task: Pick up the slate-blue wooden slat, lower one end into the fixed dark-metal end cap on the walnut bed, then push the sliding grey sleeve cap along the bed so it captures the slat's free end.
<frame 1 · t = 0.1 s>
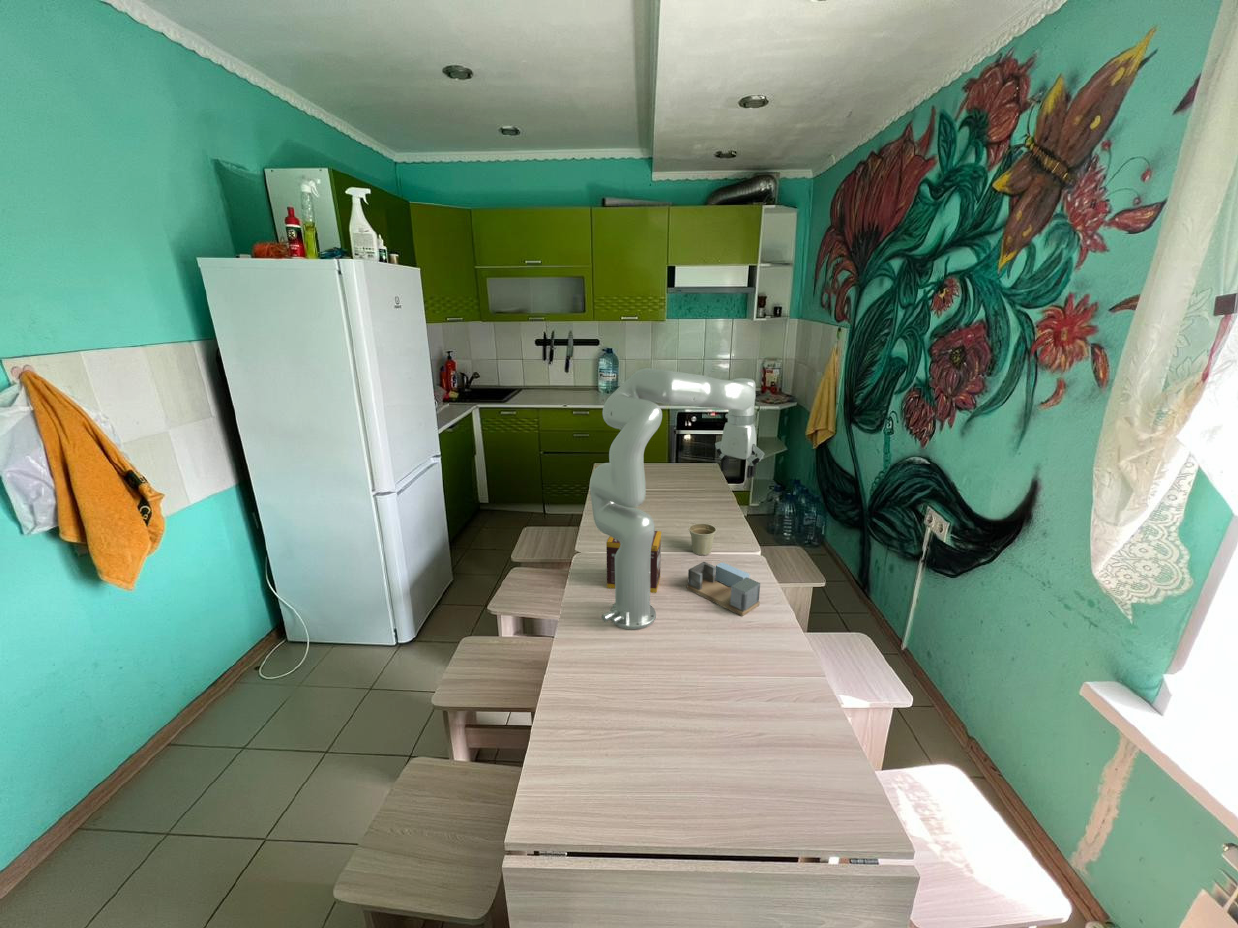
hand: (737, 473, 162), 31 cm above the table, fingers open, 9 cm apart
flower pot: (701, 552, 179), on the table
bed: (722, 596, 152), on the table
slat: (731, 584, 159), on the table
supplement box: (634, 582, 160), on the table
sleeve cap: (745, 593, 145), point 4 cm above the table, slide at 0.0 cm
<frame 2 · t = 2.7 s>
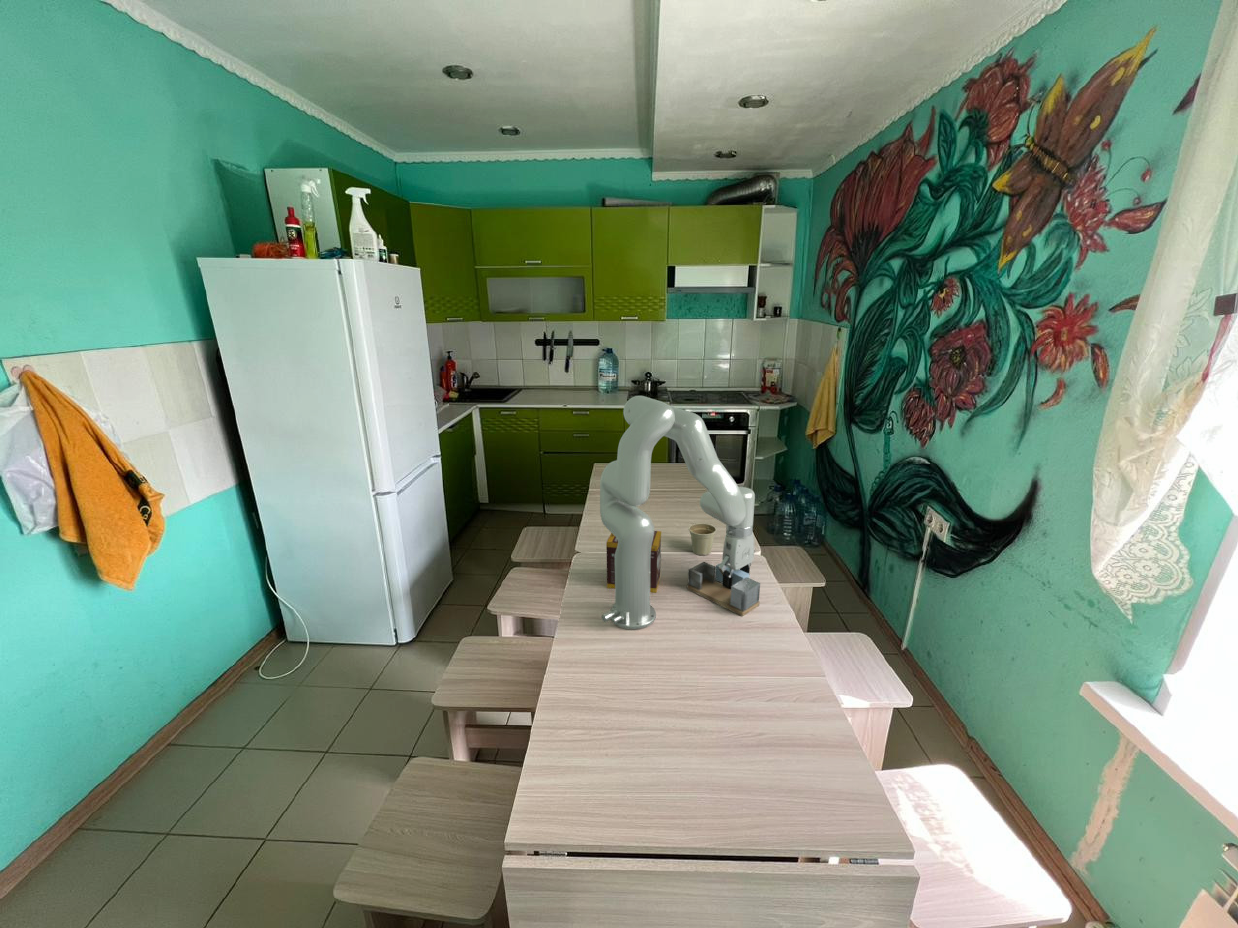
hand: (735, 581, 157), 1 cm above the table, fingers open, 7 cm apart
nothing on the table moved.
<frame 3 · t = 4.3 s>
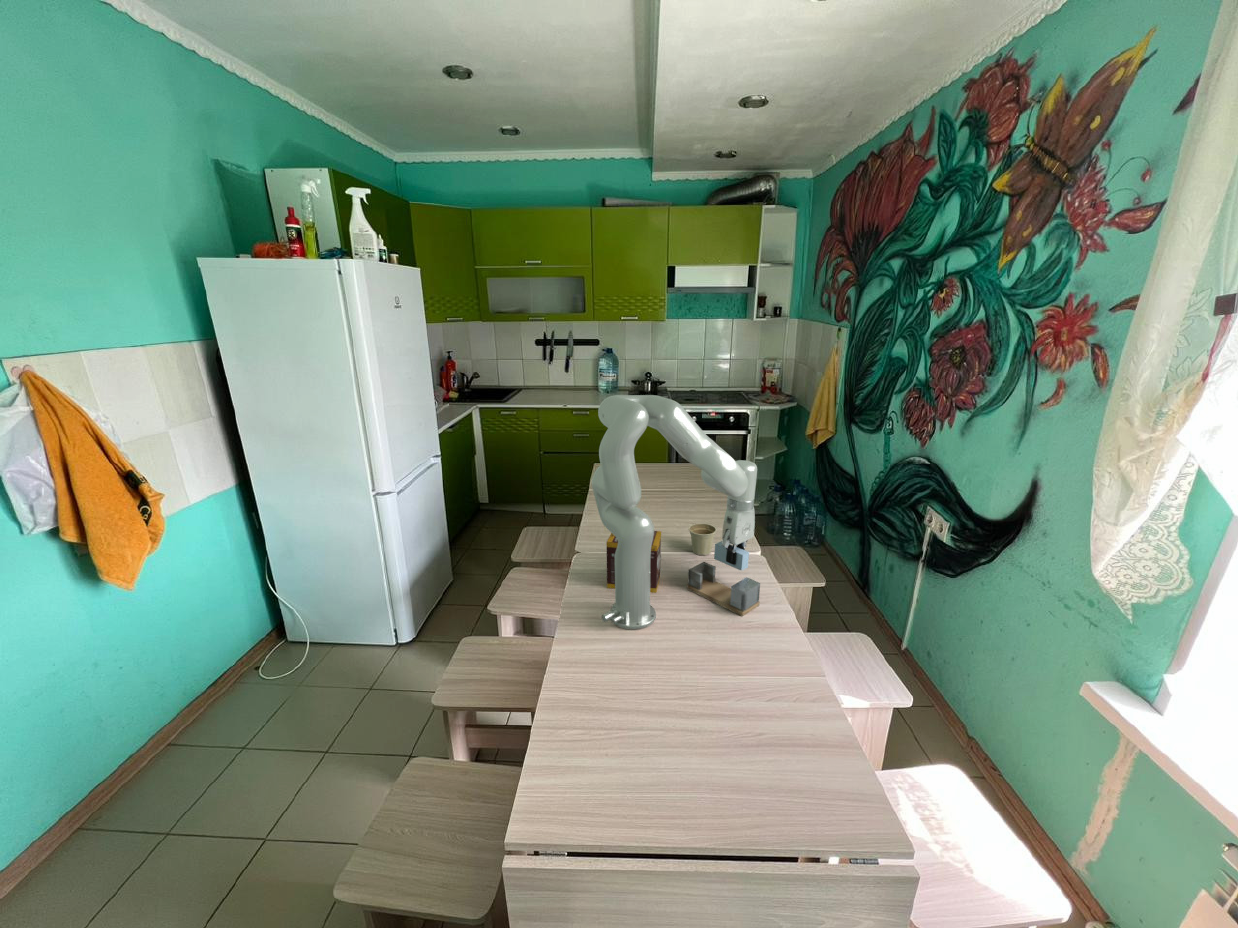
hand: (734, 560, 155), 9 cm above the table, fingers closed on slat, 3 cm apart
slat: (730, 563, 156), point 7 cm above the table, touching gripper
everything else where it was.
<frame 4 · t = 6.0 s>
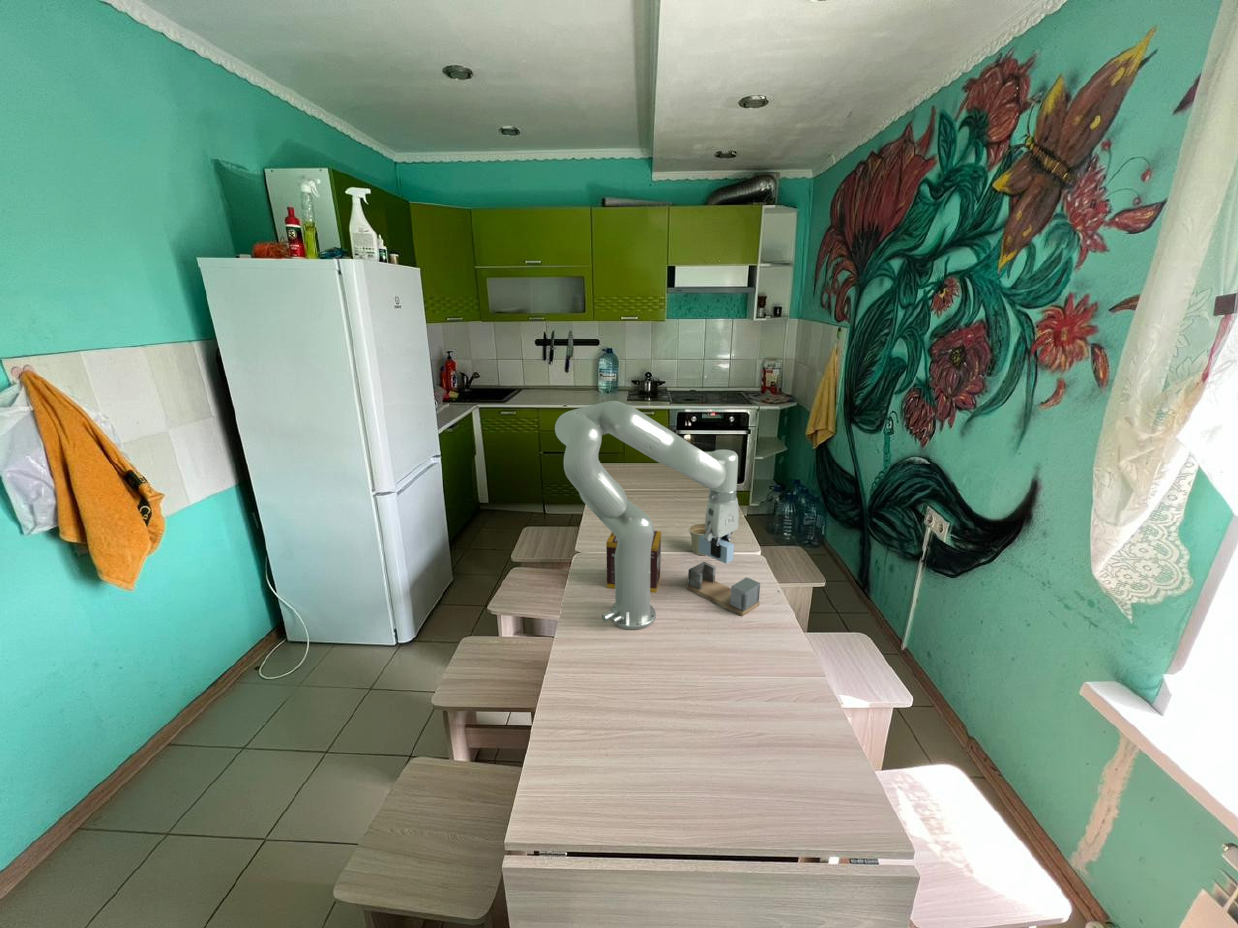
hand: (719, 553, 149), 13 cm above the table, fingers closed on slat, 3 cm apart
slat: (715, 556, 151), point 12 cm above the table, touching gripper
everything else where it was.
when the fingers open (3 cm above the table, at t = 7.9 s): slat stays where it is, resting on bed.
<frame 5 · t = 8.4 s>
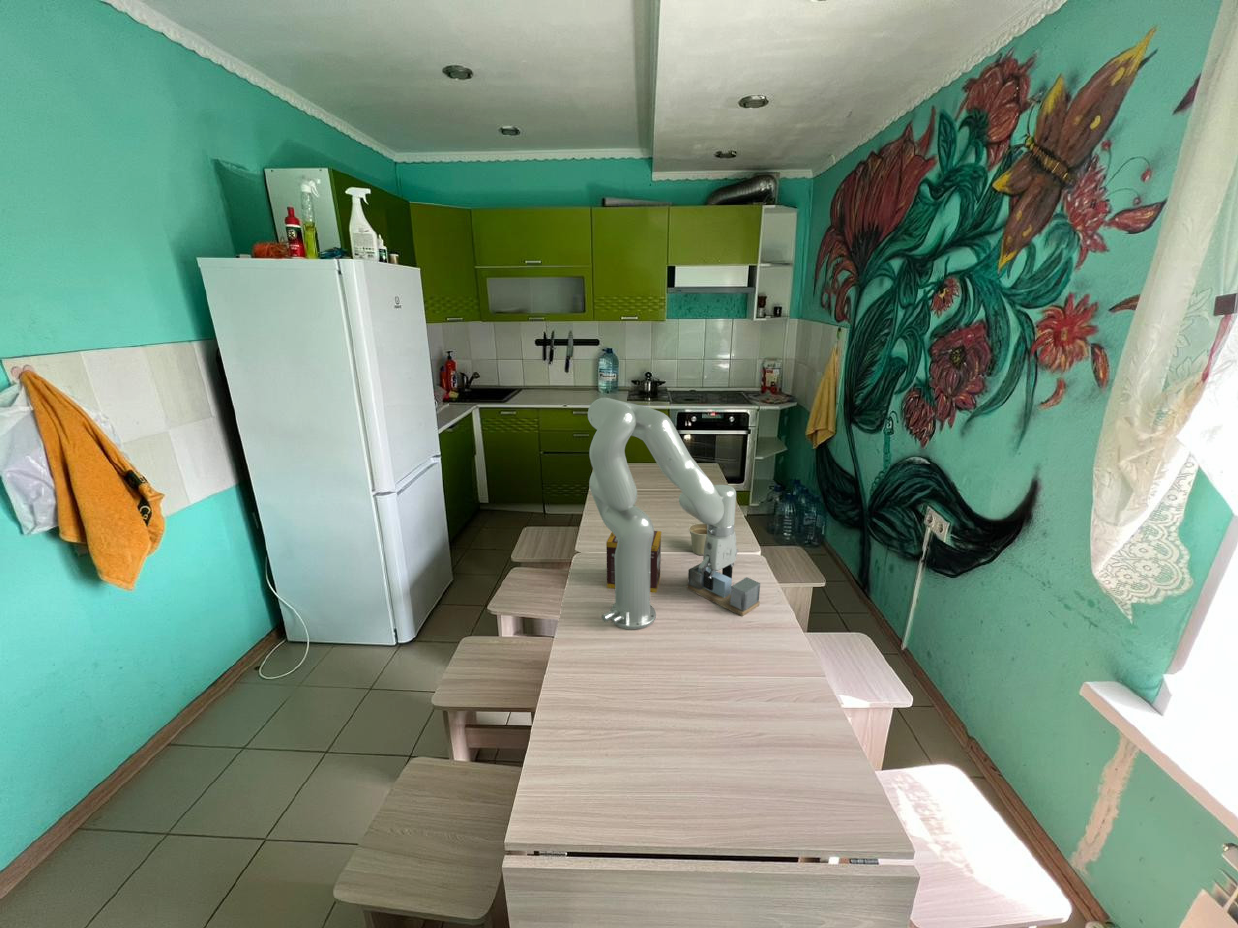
hand: (717, 582, 152), 4 cm above the table, fingers open, 8 cm apart
slat: (713, 589, 154), point 1 cm above the table, touching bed
everything else where it was.
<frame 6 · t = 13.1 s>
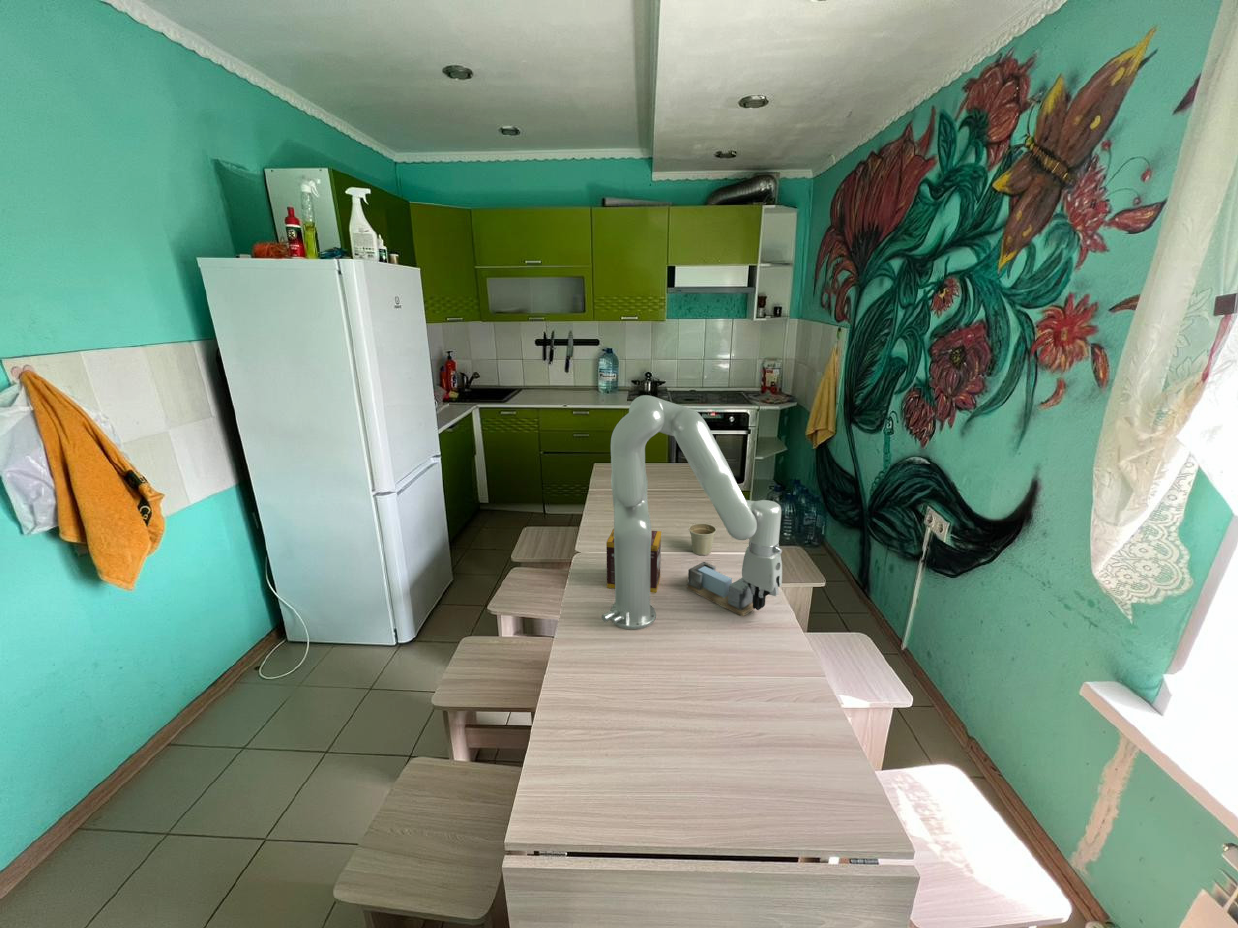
hand: (758, 607, 142), 2 cm above the table, fingers closed
sleeve cap: (743, 592, 146), point 4 cm above the table, slide at 0.7 cm, touching gripper
everything else where it was.
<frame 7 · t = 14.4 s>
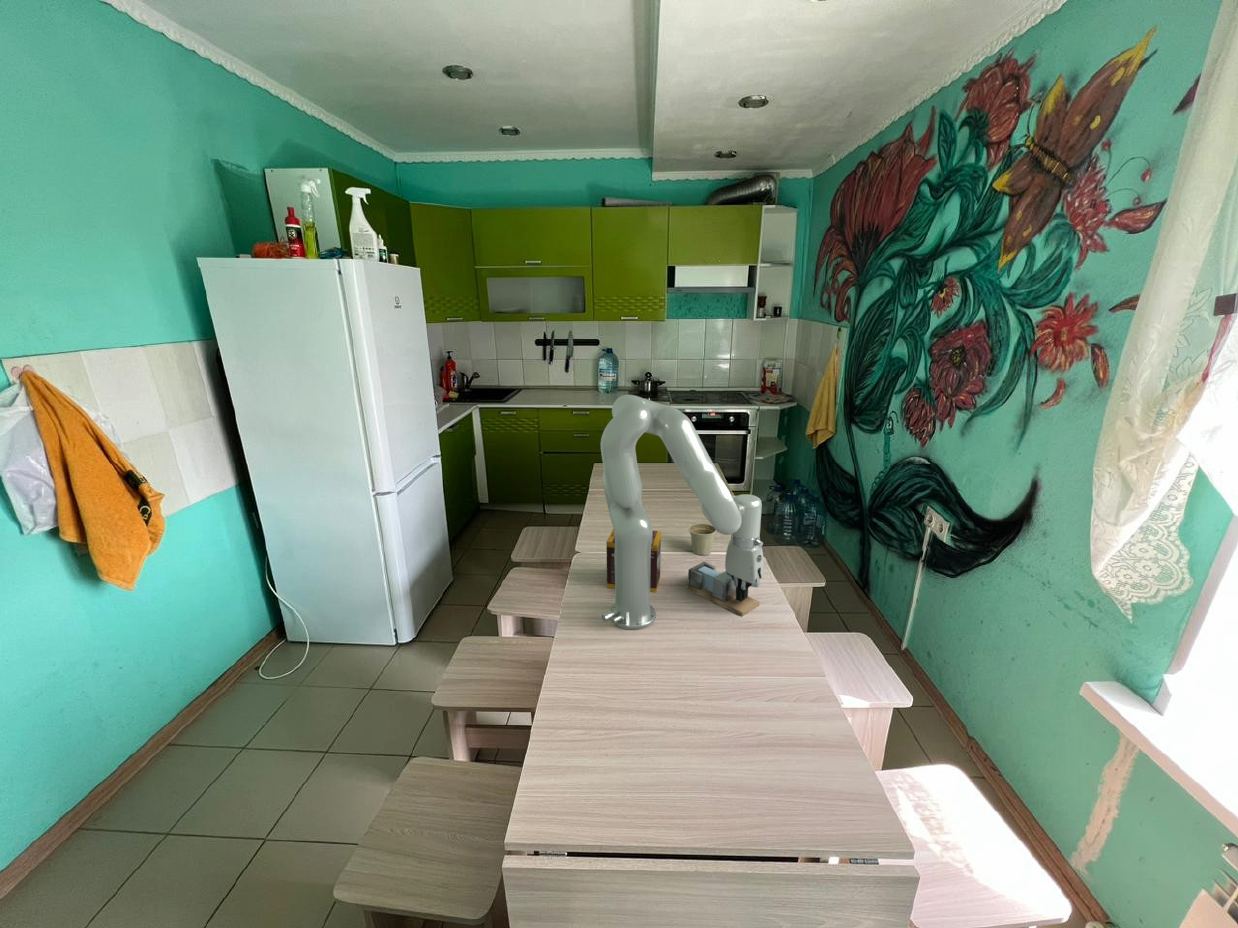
hand: (741, 598, 146), 2 cm above the table, fingers closed
sleeve cap: (726, 585, 150), point 4 cm above the table, slide at 6.3 cm, touching gripper
everything else where it was.
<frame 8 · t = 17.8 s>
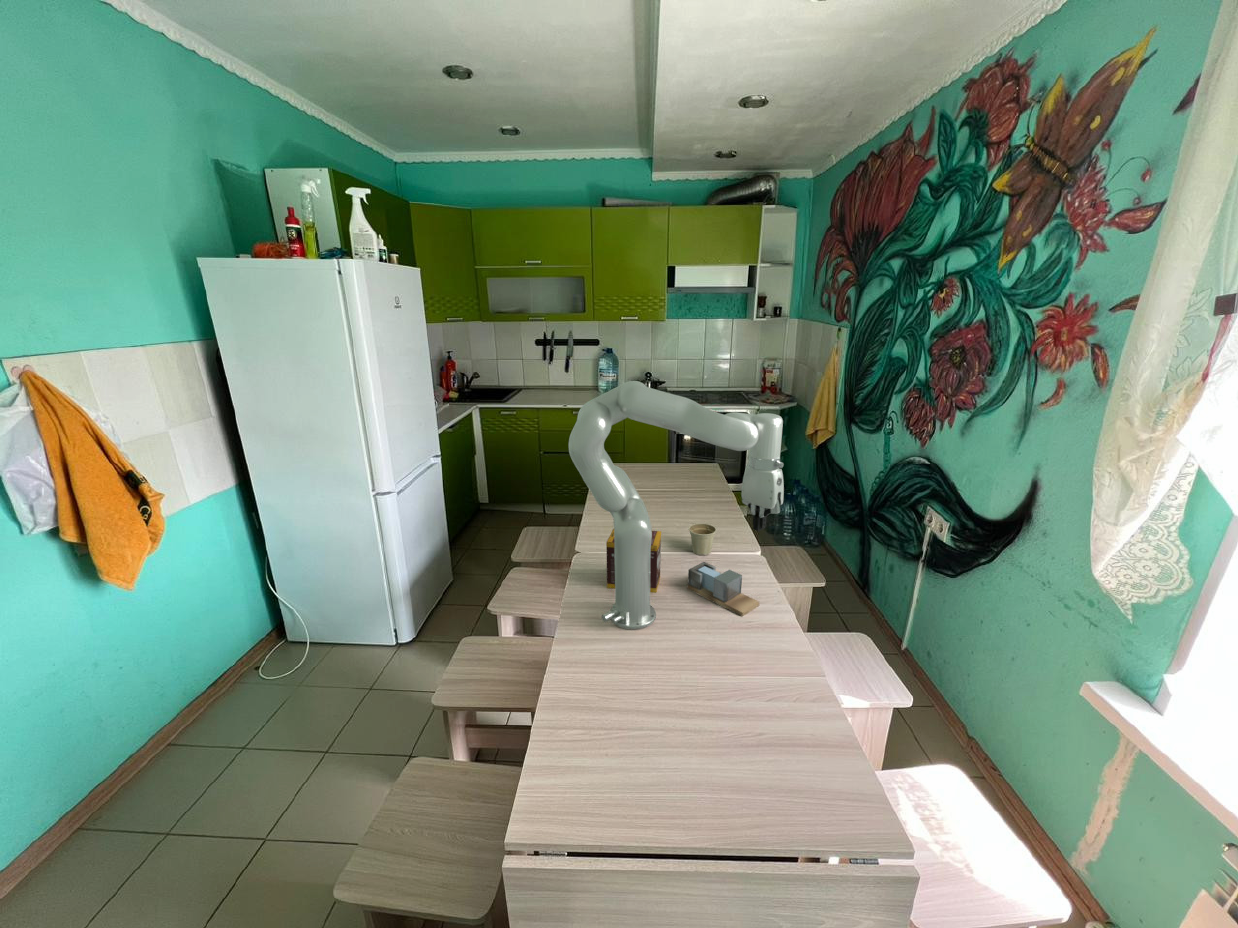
hand: (758, 528, 137), 25 cm above the table, fingers closed
sleeve cap: (727, 585, 149), point 4 cm above the table, slide at 6.0 cm
everything else where it was.
at the end: slat 0.5 cm from the target spot on the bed, point 1.2 cm above the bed's base; slat tilted 0°; sleeve cap slide at 6.0 cm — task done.
